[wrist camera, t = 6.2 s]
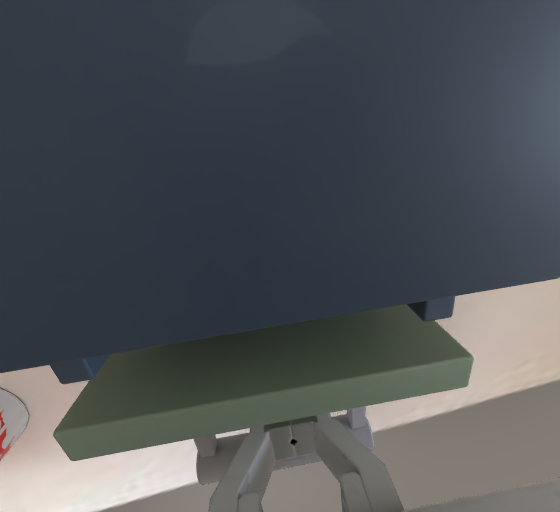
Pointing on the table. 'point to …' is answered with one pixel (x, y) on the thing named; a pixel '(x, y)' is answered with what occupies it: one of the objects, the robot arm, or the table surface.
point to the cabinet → (266, 163)
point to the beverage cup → (10, 420)
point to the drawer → (260, 383)
